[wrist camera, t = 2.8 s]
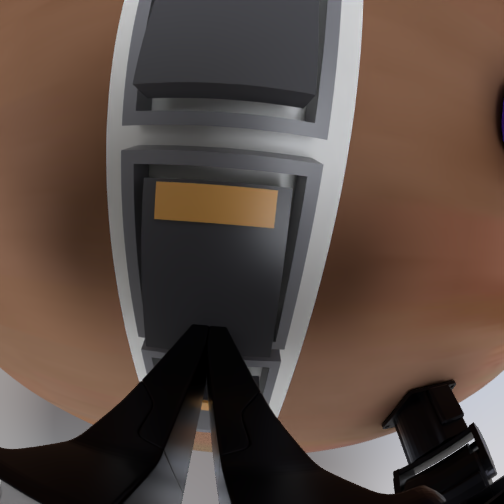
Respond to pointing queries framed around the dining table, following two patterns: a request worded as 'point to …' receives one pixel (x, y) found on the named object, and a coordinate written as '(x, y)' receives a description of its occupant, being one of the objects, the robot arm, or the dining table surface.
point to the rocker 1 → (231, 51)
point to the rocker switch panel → (235, 172)
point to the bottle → (503, 121)
